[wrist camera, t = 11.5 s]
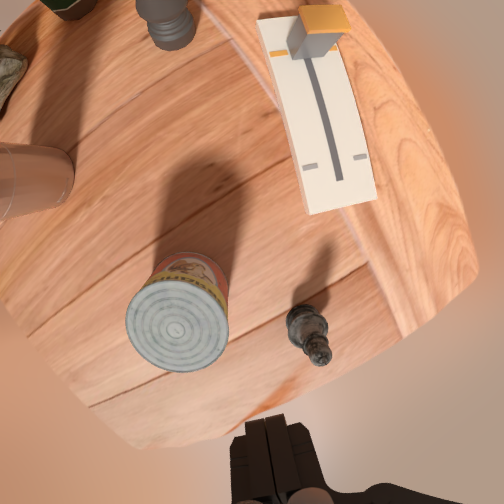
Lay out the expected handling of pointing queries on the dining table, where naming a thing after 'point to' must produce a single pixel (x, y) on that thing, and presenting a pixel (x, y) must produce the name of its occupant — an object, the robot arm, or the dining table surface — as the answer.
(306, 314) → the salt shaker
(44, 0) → the beer bottle
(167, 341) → the canned food
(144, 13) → the candle holder
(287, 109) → the fader console
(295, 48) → the fader knob
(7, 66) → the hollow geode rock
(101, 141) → the dining table surface
